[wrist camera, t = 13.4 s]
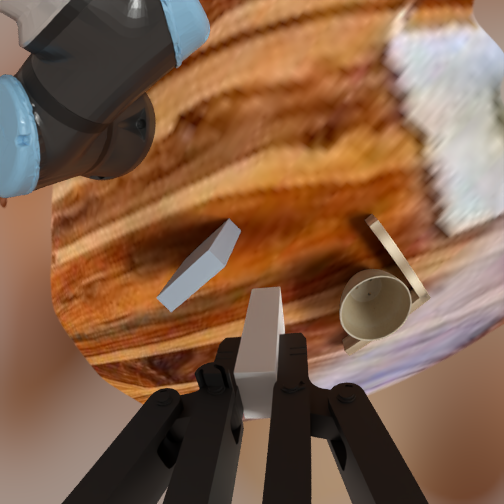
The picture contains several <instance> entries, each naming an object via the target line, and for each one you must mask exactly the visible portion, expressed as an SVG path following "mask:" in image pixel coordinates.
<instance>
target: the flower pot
mask: <svg viewBox="0 0 504 504" xmlns="http://www.w3.org/2000/svg"><path fill="white" fill-rule="evenodd" d="M356 288H357V289H356ZM369 293H371V294H369ZM411 304H412V300H411V294H410V292H409V290H408V288H407V286H406V285H405V284H404V283H403V282H402V281H401V280H400V279H398V278H397V277H395V276H394V275H392V274H390V273H388V272H385V271H382V270H378V269H367V270H363V271H360V272H358V273H356V274H355V275H354V276H353V277H352V278H351V279H350V280H349V281H348V283H347V284H346V286H345V288H344V290H343V293H342V296H341V300H340V309H339V313H340V321H341V325H342V327H343V328H344V330H345V331H346V332H347V333H348V334H349V335H350V336H352V337H353V338H356V339H358V340H362V341H375V340H380V339H383V338H386V337H388V336H390V335H391V334H393V333H394V332H396V331H397V330H398V329H399V328H400V327H401V326H402V325H403V324H404V322H405V321H406V319H407V318H408V316H409V313H410V310H411Z"/></svg>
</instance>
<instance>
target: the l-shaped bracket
mask: <svg viewBox="0 0 504 504" xmlns="http://www.w3.org/2000/svg"><path fill="white" fill-rule="evenodd" d="M365 222H366V223H367V224H368V226H369V227H370V228H371V230H372V231H373V232H374V234H375V235H376V236H377V238H378V239H379V240H380V242H381V243H382V245H383V246H384V247H385V249H386V250H387V251H388V253H389V254H390V256H391V257H392V258H393V260H394V261H395V263H396V264H397V266H398V267H399V268H400V270H401V271H402V273H403V274H404V276H405V277H406V279H407V280H408V282H409V283H410V285H411V286H412V288H413V289H412V290H410V291H409V292H410V294H411V300H412V304H411V310H410V313H409V314H411V313H412V312H413V311H415V310H416V309H417V308H419V307H420V306H421V305H423V304H424V303H425V302H426V301H428V300H429V299H430V296H429V295H428V293H427V291H426V290H425V288H424V287H423V285H422V283H421V282H420V280H419V279H418V277H417V276H416V274H415V273H414V271H413V269H412V268H411V266H410V265H409V263H408V262H407V260H406V259H405V257H404V256H403V255H402V253H401V252H400V250H399V249H398V247H397V246H396V244H395V243H394V242H393V240H392V239H391V237H390V236H389V234H388V233H387V232H386V230H385V229H384V227H383V226H382V225H381V223H380V222H379V221H378V219H377V218H376V217H375V216H374V215H373V214H371V215H370V216H369V217H368V218H366V219H365ZM342 341H343V346H344V350H345V352H346V353H347V354H348V355H349V356H350V355H352V354H353V353H355V352H356V351H358V350H359V349H361V348H362V347H364V346H365V345H367V344H368V343H370V342H371V341H362V340H358V339H356V338H353V337H352V336H350V335H348V336H347V337H345V338H344V339H342Z"/></svg>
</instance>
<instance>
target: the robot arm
mask: <svg viewBox="0 0 504 504" xmlns="http://www.w3.org/2000/svg"><path fill="white" fill-rule="evenodd" d="M0 12H1V13H3V14H5V15H7V16H8V17H10V18H12V19H13V20H15V21H16V23H17V25H18V35H19V45H20V47H22V48H24V49H25V50H27V51H29V52H31V55H30V56H29V57H28V58H27V60H26V61H25V62H24V64H23V65H22V67H21V68H20V69H19V71H18V72H17V73H16V74H15V75H14V76H12V75H6V74H5V75H2V76H1V77H0V197H2V198H9V197H14V196H19V195H26V194H29V193H31V192H32V191H34V190H37V189H39V188H43V187H45V186H48V185H51V184H54V183H57V182H61V181H64V180H67V179H70V178H73V177H76V176H84V177H87V178H91V179H95V180H110V179H114V178H117V177H120V176H123V175H125V174H127V173H129V172H131V171H132V170H133V169H135V168H136V167H137V166H138V165H139V164H140V163H141V162H142V161H143V159H144V158H145V156H146V155H147V153H148V151H149V149H150V147H151V144H152V142H153V138H154V133H155V113H154V109H153V106H152V103H151V101H150V99H149V97H148V95H147V94H146V91H147V90H148V89H149V88H150V87H151V86H152V85H154V84H155V83H156V82H157V81H158V80H160V79H161V78H162V77H163V76H164V75H166V74H167V73H168V72H169V71H170V70H172V69H173V68H174V67H175V68H178V67H179V66H180V65H181V64H182V61H183V60H184V59H186V58H187V57H188V56H189V55H190V54H192V53H193V52H194V51H195V50H197V49H198V48H199V47H200V46H202V45H203V44H204V43H205V42H206V40H207V39H208V36H209V33H210V25H209V21H208V18H207V16H206V13H205V12H204V10H203V8H202V6H201V4H200V2H199V0H0ZM195 376H196V379H197V382H198V385H199V388H200V389H199V390H198V391H196V392H193V393H189V394H184V395H180V394H179V393H178V392H177V391H176V390H174V389H170V388H165V389H160V390H158V391H156V392H154V393H153V394H152V395H151V396H150V397H149V398H148V400H147V401H146V402H145V403H144V405H143V406H142V407H141V408H140V410H139V411H138V412H137V413H136V415H135V416H134V417H133V418H132V419H131V421H130V422H129V423H128V424H127V426H126V427H125V428H124V429H123V430H122V432H121V433H120V434H119V435H118V436H117V438H116V439H115V440H114V441H113V443H112V444H111V445H110V447H108V449H107V450H106V451H105V452H104V454H103V455H102V456H101V457H100V458H99V460H98V461H97V462H96V463H95V465H94V466H93V467H92V468H91V469H90V471H89V472H88V473H87V474H86V475H85V477H84V478H83V479H82V480H81V481H80V483H79V484H78V485H77V486H76V487H75V488H74V490H73V491H72V492H71V493H70V494H69V496H68V497H67V498H66V499H65V500H64V502H63V503H62V504H157V502H158V501H159V499H160V498H161V496H162V494H163V493H164V492H165V490H166V489H167V492H166V495H165V498H164V501H163V504H231V501H232V496H233V490H234V484H235V478H236V472H237V466H238V460H239V454H240V448H241V442H242V436H243V429H244V428H243V422H242V416H243V412H244V416H245V418H271V420H270V432H269V443H268V453H267V463H266V473H265V482H264V492H263V501H262V504H311V436H313V437H318V438H323V439H327V441H328V444H329V447H330V449H331V452H332V454H333V457H334V459H335V461H336V464H337V467H338V469H339V471H340V474H341V477H342V479H343V481H344V484H345V486H346V489H347V492H348V494H349V496H350V499H351V501H352V504H428V502H427V500H426V498H425V496H424V495H423V493H422V491H421V489H420V487H419V486H418V484H417V482H416V480H415V478H414V477H413V475H412V473H411V471H410V470H409V468H408V466H407V464H406V463H405V461H404V459H403V458H402V455H401V454H400V452H399V450H398V449H397V447H396V445H395V443H394V442H393V440H392V438H391V436H390V435H389V433H388V431H387V430H386V428H385V426H384V424H383V423H382V421H381V419H380V417H379V416H378V414H377V412H376V411H375V409H374V407H373V406H372V404H371V402H370V400H369V399H368V397H367V395H366V394H365V392H364V390H363V389H362V388H361V387H360V386H358V385H356V384H354V383H340V384H338V385H336V386H334V387H333V388H332V389H331V390H328V389H322V388H319V387H317V386H315V385H313V384H312V383H311V381H310V380H309V377H308V361H307V345H306V338H305V337H304V336H303V334H302V333H291V334H285V327H284V318H283V309H282V300H281V291H280V287H271V288H258V289H252V292H251V297H250V301H249V306H248V310H247V315H246V319H245V324H244V328H243V333H242V337H234V338H225V339H224V340H223V341H222V342H221V343H220V345H219V348H218V351H217V354H216V359H215V361H214V362H212V363H207V364H204V365H202V366H201V367H199V368H198V369H197V370H196V372H195ZM167 487H168V488H167Z"/></svg>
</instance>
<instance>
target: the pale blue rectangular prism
mask: <svg viewBox="0 0 504 504" xmlns="http://www.w3.org/2000/svg"><path fill="white" fill-rule="evenodd" d="M240 232H241V231H240V229H239V228H238V227H237V226H236V225H235V224H234V223H233V222H232V221H231V220H230V219H228V220H227V221H226V222H224V223H223V224H222V225H221V226H220V227H219V228H218V229H217V230H216V231H215V232H214V233H212V234H211V235H210V236H209V237H208V238H207V239H206V240H205V241H204V242H203V243H202V244H201V245H199V246H198V247H197V248H196V249H195V250H194V251H193V252H192V253H191V254H190V255H189V256H188V257H187V258H186V259H185V260H184V261H183V263H182V264H181V265H180V267H179V268H178V269H177V271H176V272H175V273H174V275H173V276H172V277H171V279H170V280H169V281H168V283H167V284H166V286H165V287H164V288H163V290H162V291H161V292H160V294H159V295H158V296H157V299H158V300H159V301H160V302H161V303H162V304H163V305H164V306H165V307H167V308H168V309H169V310H170V311H171V312H172V311H173V310H175V309H176V308H177V307H178V306H179V305H180V304H182V303H183V302H184V301H185V300H186V299H187V298H189V297H190V296H191V295H192V294H193V293H194V292H196V291H197V290H198V289H199V288H200V287H201V286H203V285H204V284H205V283H206V282H207V281H209V280H210V279H211V278H212V277H213V276H214V275H216V274H217V273H218V272H219V271H220V270H221V269H223V268H224V267H225V266H226V263H227V261H228V259H229V257H230V254H231V252H232V250H233V248H234V245H235V243H236V241H237V239H238V237H239V234H240Z"/></svg>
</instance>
